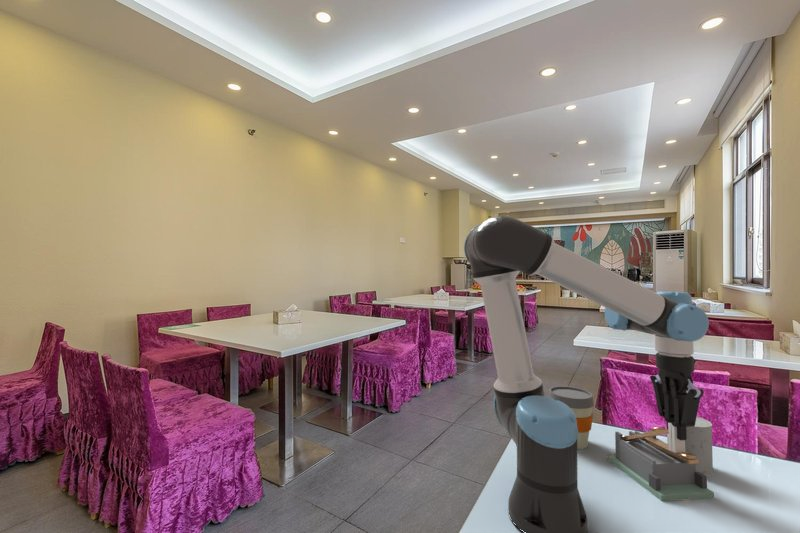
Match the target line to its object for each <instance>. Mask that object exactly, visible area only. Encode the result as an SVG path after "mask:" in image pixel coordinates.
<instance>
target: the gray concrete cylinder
mask: <svg viewBox="0 0 800 533" xmlns="http://www.w3.org/2000/svg"><path fill="white" fill-rule="evenodd" d="M686 431H687V439H686V440H685V452H687V453H691V454H693V455H695V456H696V459H698V460H699V463H697V464H696V472H700V473H702V474H704V475H706V476H707V477H711V476H712V475H714V470H713V469H714V468H713V467H714V466H713V459H714V458H713V423H712V422H711V421H709V420H707V419H705V418H703V417H701V416H697V417H696V422H695V426H692V427H687V428H686ZM666 443H667V444H668V445H669V438H668V434H666Z"/></svg>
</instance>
